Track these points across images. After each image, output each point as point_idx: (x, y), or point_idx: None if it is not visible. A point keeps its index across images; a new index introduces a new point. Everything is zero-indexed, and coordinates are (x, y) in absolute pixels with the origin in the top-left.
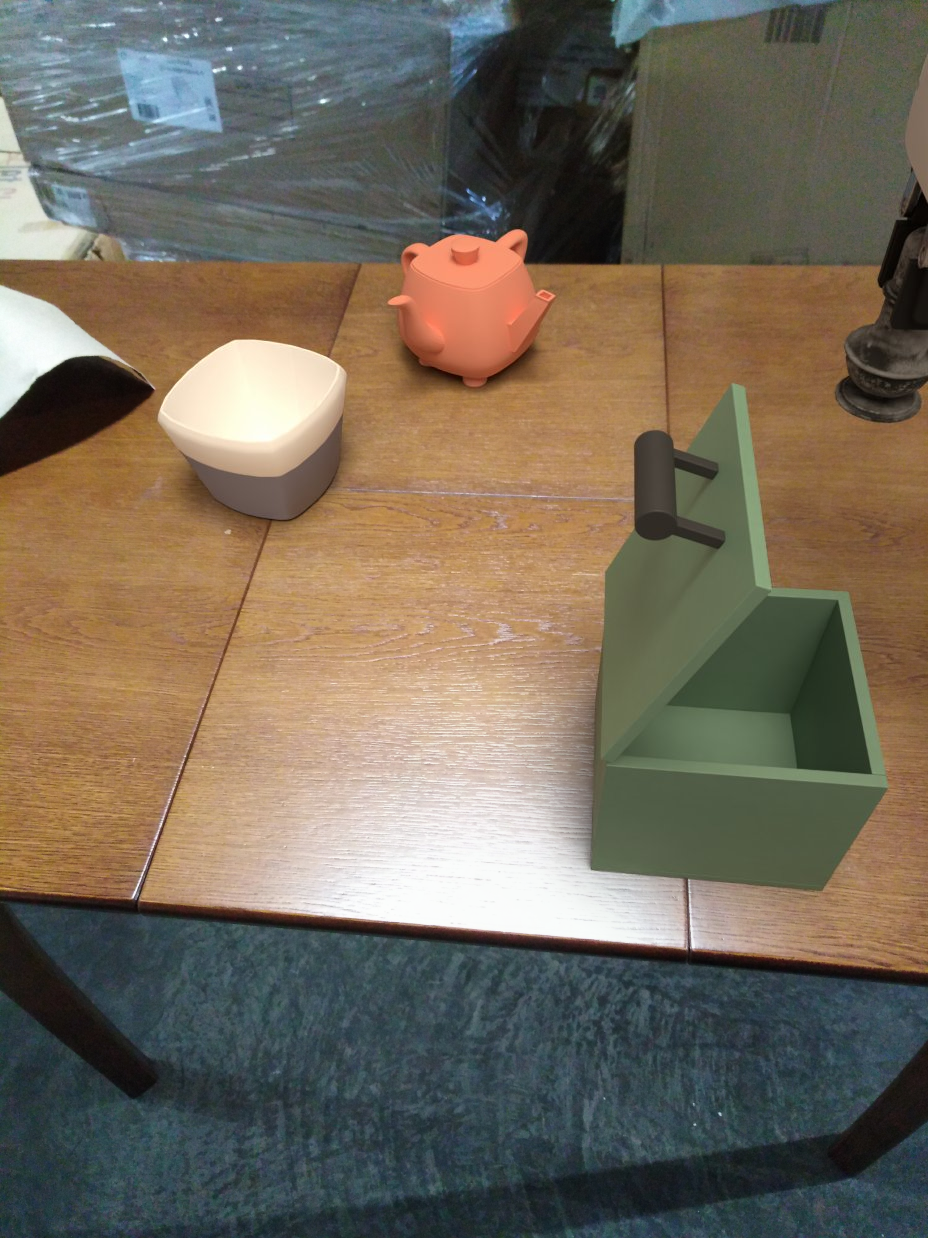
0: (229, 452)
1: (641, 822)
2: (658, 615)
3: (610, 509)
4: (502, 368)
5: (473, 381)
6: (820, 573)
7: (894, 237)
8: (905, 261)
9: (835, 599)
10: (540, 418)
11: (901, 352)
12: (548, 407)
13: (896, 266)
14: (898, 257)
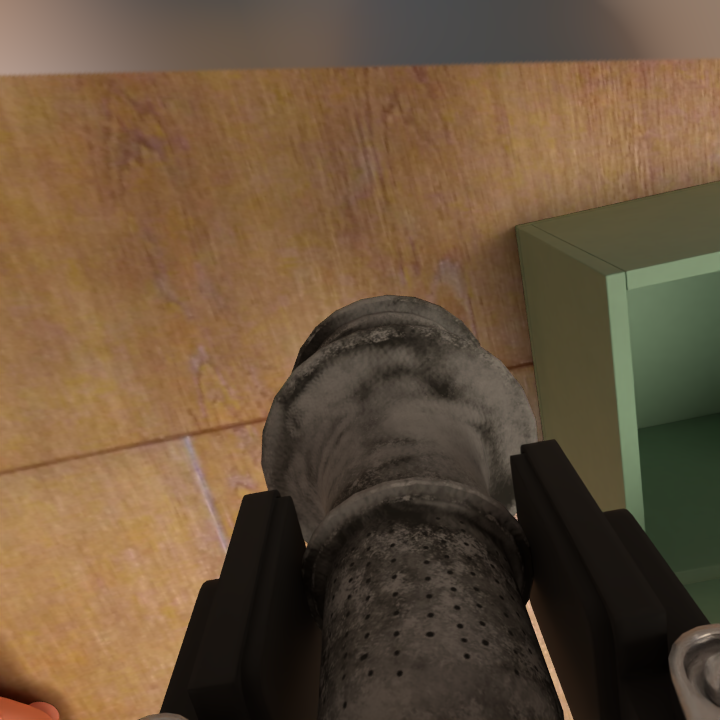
0: None
1: None
2: None
3: (230, 503)
4: (22, 704)
5: (51, 717)
6: (255, 218)
7: None
8: None
9: (625, 294)
10: (85, 623)
11: (490, 471)
12: (56, 620)
13: (319, 672)
14: (317, 706)
